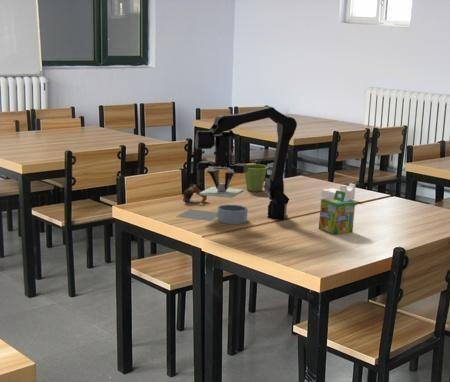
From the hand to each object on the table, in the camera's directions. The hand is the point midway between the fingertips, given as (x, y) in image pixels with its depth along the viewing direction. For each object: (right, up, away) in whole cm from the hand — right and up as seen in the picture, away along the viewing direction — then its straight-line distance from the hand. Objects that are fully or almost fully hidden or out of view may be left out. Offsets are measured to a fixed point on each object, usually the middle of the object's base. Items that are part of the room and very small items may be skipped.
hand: (222, 189), depth 269 cm
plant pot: (+15, -1, +59) cm, 60 cm away
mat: (-9, -10, +6) cm, 15 cm away
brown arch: (-12, -6, +29) cm, 32 cm away
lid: (0, -1, 0) cm, 2 cm away
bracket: (+51, -5, +47) cm, 70 cm away
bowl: (+4, -12, 0) cm, 13 cm away
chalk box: (+42, -16, -9) cm, 46 cm away
